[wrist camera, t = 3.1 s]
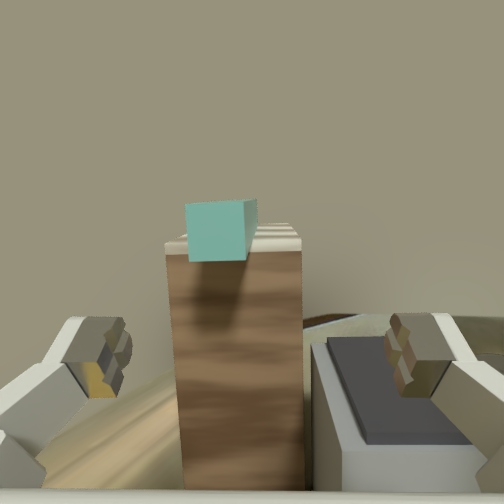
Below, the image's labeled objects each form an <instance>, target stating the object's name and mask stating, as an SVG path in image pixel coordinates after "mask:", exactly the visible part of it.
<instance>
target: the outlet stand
mask: <svg viewBox="0 0 504 504" xmlns="http://www.w3.org/2000/svg"><path fill="white" fill-rule="evenodd" d="M165 253H166V267H167V278H168V291H169V303H170V316H171V327H172V340H173V352H174V364H175V377H176V389H177V401H178V413H179V426H180V438H181V450H182V462H183V475H184V487H185V490H254V491H305V459H304V391H303V322H302V256H301V255H302V254H301V238H300V237H299V236H298V235H297V233H296V232H295V231H294V229H293V228H292V227H291V226H290V224H289V223H277V224H258V227H257V230H256V232H255V235H254V238H253V241H252V244H251V247H250V250H249V253H248V256H247V258H246V260H232V261H198V262H189V255H188V240H187V234H185V235H183V236H181V237H178V238H176V239H174V240H172V241H170V242H167V243H165Z"/></svg>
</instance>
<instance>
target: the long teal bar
mask: <svg viewBox="0 0 504 504" xmlns="http://www.w3.org/2000/svg"><path fill="white" fill-rule="evenodd" d="M185 212H186V226H187V240H188V255H189V262H198V261H232V260H246V258H247V256H248V253H249V250H250V247H251V244H252V241H253V238H254V235H255V232H256V230H257V227H258V219H257V199H245V200H226V201H215V202H203V203H192V204H185Z"/></svg>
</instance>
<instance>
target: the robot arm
mask: <svg viewBox="0 0 504 504" xmlns="http://www.w3.org/2000/svg"><path fill="white" fill-rule="evenodd" d="M390 325H391V327H392V328H390V329H389V330H388V331H386V334H385V338H384V349H385V354H386V357H387V360H388V363H389V364H391V365H392V366H393V367H394V368H395V372H394V374H393V378H394V381H395V384H396V386H397V389H398V392H399V395H400V397H407V398H431V399H430V400H431V401H432V402H433V403H434V404H435V405H436V406H437V407H438V408H439V409H440V410H441V411H442V412H443V413H444V414H445V415H446V416H447V418H448V419H449V420H450V421H451V422H452V423H453V424H454V425H455V426H456V427H457V428H458V429H459V430H460V431H461V432H462V433H463V434H464V435H465V436H466V437H467V438H468V439H469V441H470V442H471V443H472V444H473V445H474V446H475V447H476V448H477V449H478V450H479V451H480V452H481V453H482V454H483V455H484V456H485V457H486V458H487V459H488V461H487V462H486V463H485V464H484V465H483V466H482V467H481V468H480V469H479V470H478V471H477V473H476V475H475V478H476V481H477V483H478V485H479V488H480V490H481V492H482V493H448V492H351V491H254V490H157V489H57V488H41V486H42V484H43V481H44V479H45V477H46V474H47V472H46V469H45V467H43V466H42V465H41V464H40V463H39V462H38V461H37V460H36V459H35V457H36V456H37V455H38V454H39V453H40V452H41V451H42V450H43V448H44V447H45V446H46V445H47V444H48V443H49V442H50V441H51V440H52V439H53V438H54V437H55V436H56V435H57V433H58V432H59V431H60V430H61V429H62V428H63V427H64V426H65V425H66V424H67V423H68V422H69V421H70V420H71V419H72V417H73V416H74V415H75V414H76V413H77V412H78V411H79V410H80V409H81V408H82V407H83V406H84V405H85V404H86V402H87V401H88V400H89V399H88V398H117V395H118V392H119V390H120V387H121V384H122V381H123V378H124V376H123V374H122V371H121V370H122V369H123V368H125V367H126V366H127V365H128V364H129V361H130V358H131V355H132V339H131V336H130V334H129V333H128V332H126V331H125V330H124V327H125V322H124V320H123V318H122V317H71V318H69V319H68V320H67V321H66V322H65V324H64V326H63V327H62V329H61V330H60V332H59V334H58V336H57V337H56V339H55V341H54V342H53V344H52V346H51V347H50V349H49V351H48V352H47V354H46V356H45V357H44V359H43V361H42V362H41V363H36V364H35V365H34V366H32V367H31V368H29V369H28V370H26V371H25V372H24V373H22V374H21V375H20V376H18V377H17V378H16V379H14V380H13V381H11V382H10V383H9V384H7V385H6V386H5V387H3V388H2V389H1V390H0V504H504V375H502V374H501V373H500V372H498V371H497V370H495V369H494V368H493V367H491V366H490V365H488V364H487V363H486V362H484V361H478V360H477V358H476V357H475V355H474V353H473V352H472V350H471V348H470V347H469V345H468V343H467V342H466V340H465V338H464V337H463V335H462V333H461V332H460V330H459V328H458V327H457V325H456V323H455V322H454V320H453V318H452V317H451V315H449V314H448V313H394V314H393V315H392V316H391V319H390Z"/></svg>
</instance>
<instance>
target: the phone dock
mask: <svg viewBox="0 0 504 504" xmlns="http://www.w3.org/2000/svg"><path fill="white" fill-rule="evenodd" d="M384 338H385V336H380V337H327V343H311V428H312V485H313V491H351V492H448V493H482V492H481V490H480V488H479V485H478V483H477V481H476V478H475V475H476V473H477V471H478V470H479V469H480V468H481V467H482V466H483V465H484V464H485V463H486V462H487V461H488V459H487V458H486V457H485V456H484V455H483V454H482V453H481V452H480V451H479V450H478V449H477V448H476V447H475V446H474V445H473V444H472V443H471V442H470V441H469V439H468V438H467V437H466V436H465V435H464V434H463V433H462V432H461V431H460V430H459V429H458V428H457V427H456V426H455V425H454V424H453V423H452V422H451V421H450V420H449V419H448V418H447V416H446V415H445V414H444V413H443V412H442V411H441V410H440V409H439V408H438V407H437V406H436V405H435V404H434V403H433V402H432V401H431V400H430V399H431V398H407V397H400V395H399V392H398V389H397V386H396V384H395V381H394V378H393V374H394V372H395V368H394V367H393V366H392V365H391V364H389V363H388V360H387V357H386V354H385V349H384Z"/></svg>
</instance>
